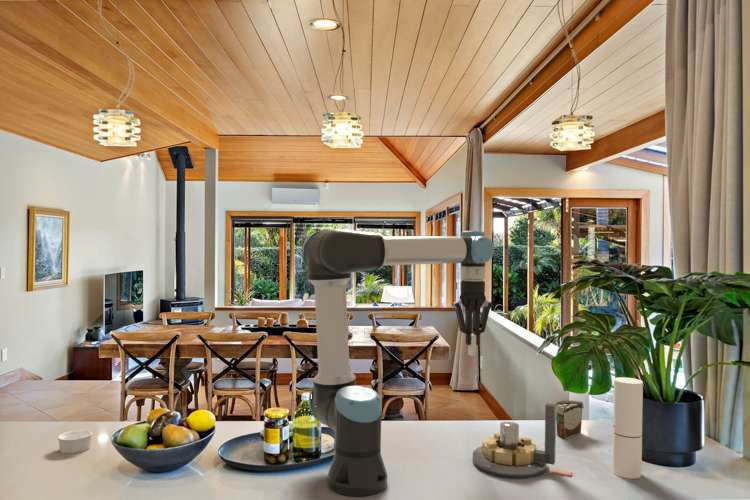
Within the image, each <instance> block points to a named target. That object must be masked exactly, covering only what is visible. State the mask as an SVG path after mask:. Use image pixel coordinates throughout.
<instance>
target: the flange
mask: <svg viewBox="0 0 750 500" xmlns="http://www.w3.org/2000/svg"><path fill="white" fill-rule="evenodd" d="M499 424H500V425H499V430H500V432H499V433H500V448H502V449H508V450H515V448H516V447H517V446H519V438H520V436H519V434H520V429H519V427H520V426H519V424H518V423H516V422H513V421H503V422H500V423H499ZM472 464H473V466H474V467H475V468H476V469H478V470H480V471H481V472H483V473H486V474H488V475H491V476H494V477H498V478H504V479H512V480H513V479H514V480H515V479H516V480H523V479H527V480H528V479H532V478H536V477H540V476H542V475H544V474H545V473H546V471H547V467H548V466H547V465H548V464H547V463H541V462H535V461H534V462H533V463H532V462H531V464H525V465H518V466H516V465H514V464H513V465H506V464H500V463H495V461H490V460H489V459H487V458H486V457H485V456H483V454H482V445H481V446H480V447H477V448H476V449H474V450H473V452H472Z"/></svg>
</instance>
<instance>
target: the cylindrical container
mask: <svg viewBox="0 0 750 500" xmlns="http://www.w3.org/2000/svg"><path fill="white" fill-rule="evenodd" d="M643 390H644V382H643V380H641V379H638V378H632V377H625V376H624V377H623V376H622V377H621V376H620V377H614V378H613V405H612V406H613V410H612V413H613V414H612V418H613V419H612V466H611V467H612V469H611V470H612V473H613V474H614V475H616V476H617V477H621V478H625V479H629V480H630V479H632V480H633V479H641V478H642V469H643V467H642V465H643V463H642V459H643V455H642V453H643V406H644V405H643V404H644V403H643V401H644V398H643V397H644V395H643V394H644V391H643Z"/></svg>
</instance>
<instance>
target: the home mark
mask: <svg viewBox="0 0 750 500" xmlns="http://www.w3.org/2000/svg"><path fill="white" fill-rule="evenodd" d="M550 473H551V474H554V475H559V476H564V477H571V476H572V474H573V472H572V471H570V470H564V469H558V468H552V469H551V471H550Z"/></svg>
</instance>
